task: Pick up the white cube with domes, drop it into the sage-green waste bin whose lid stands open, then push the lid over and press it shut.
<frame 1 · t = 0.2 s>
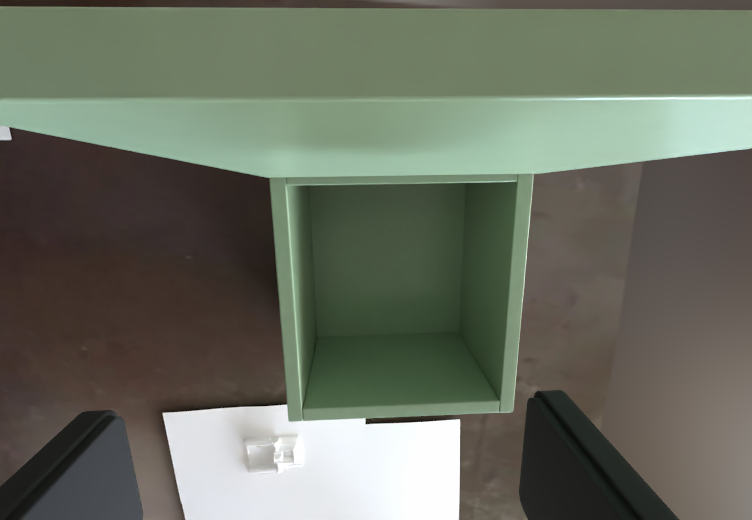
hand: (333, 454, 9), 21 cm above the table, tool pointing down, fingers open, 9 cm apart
trashcan: (387, 256, 29), on the table
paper: (320, 478, 34), on the table
bin lid: (436, 147, 11), point 17 cm above the table, hinge at 95.0°
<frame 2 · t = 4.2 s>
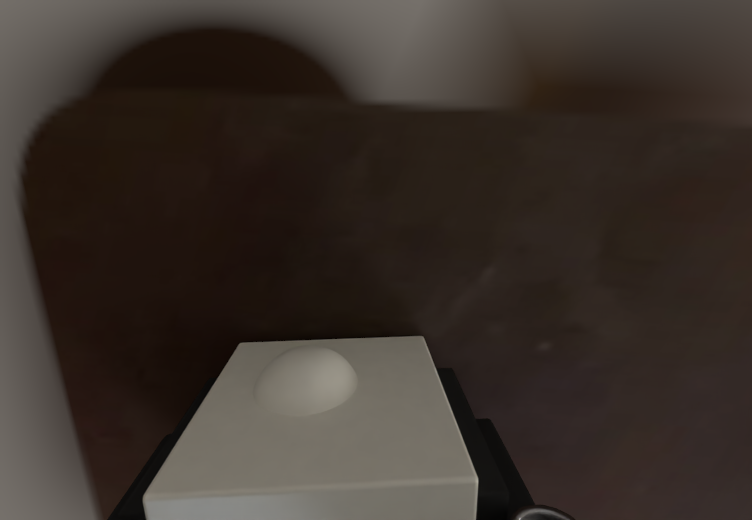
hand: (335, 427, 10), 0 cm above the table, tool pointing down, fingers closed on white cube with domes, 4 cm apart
white cube with domes: (336, 417, 10), on the table, touching gripper
when the fingers open (17 cm above the table, at t = 11.7 s): white cube with domes drops 16 cm, resting on trashcan.
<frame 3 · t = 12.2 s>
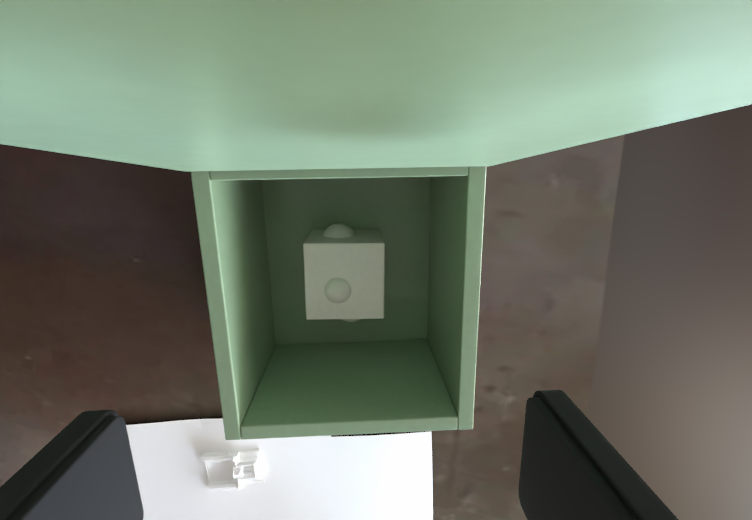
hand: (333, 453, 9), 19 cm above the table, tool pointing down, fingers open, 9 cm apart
trashcan: (349, 258, 28), on the table
white cube with domes: (346, 262, 27), point 1 cm above the table, touching trashcan
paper: (285, 494, 32), on the table
bin lid: (325, 128, 9), point 17 cm above the table, hinge at 95.0°
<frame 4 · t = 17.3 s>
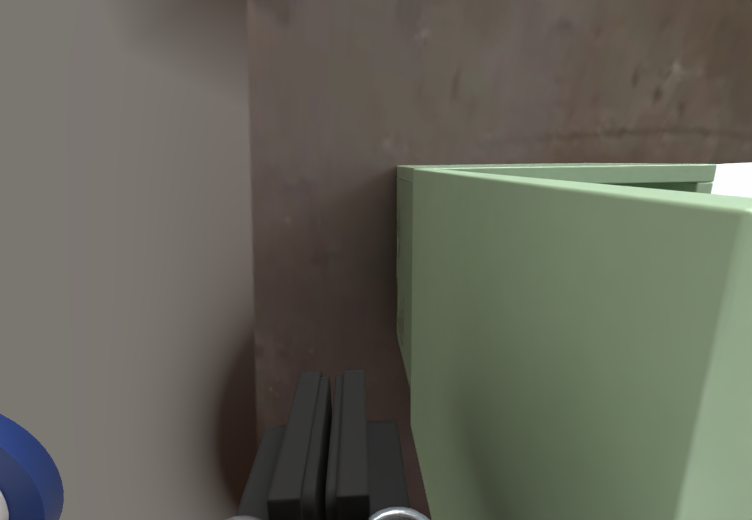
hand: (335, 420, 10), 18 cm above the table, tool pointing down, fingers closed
trashcan: (489, 253, 28), on the table
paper: (732, 320, 31), on the table
bin lid: (463, 399, 11), point 17 cm above the table, hinge at 89.6°, touching gripper
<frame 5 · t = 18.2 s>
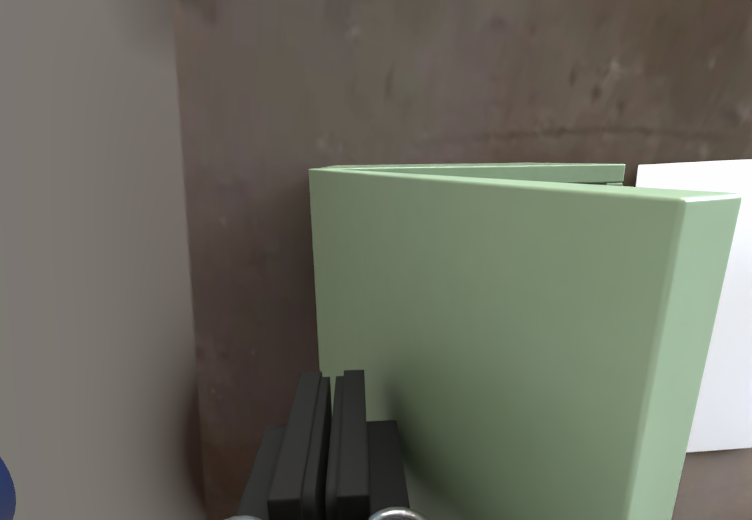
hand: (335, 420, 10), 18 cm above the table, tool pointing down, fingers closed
trashcan: (430, 254, 28), on the table
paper: (681, 321, 30), on the table
bin lid: (385, 395, 11), point 17 cm above the table, hinge at 71.7°
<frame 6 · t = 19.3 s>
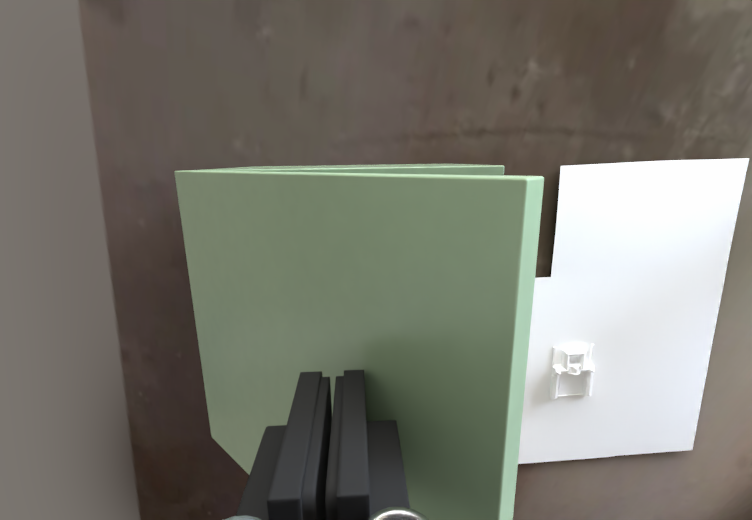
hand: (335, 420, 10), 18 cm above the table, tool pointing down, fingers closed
trashcan: (354, 255, 28), on the table
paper: (613, 323, 30), on the table
bin lid: (299, 368, 13), point 15 cm above the table, hinge at 45.6°
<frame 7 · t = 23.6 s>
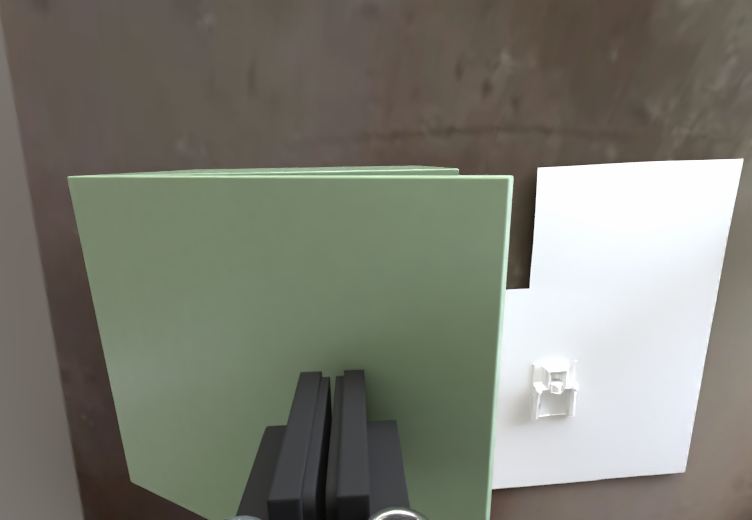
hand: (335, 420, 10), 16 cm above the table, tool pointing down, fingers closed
trashcan: (313, 266, 25), on the table
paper: (598, 338, 28), on the table
bin lid: (257, 380, 12), point 14 cm above the table, hinge at 27.6°, touching gripper
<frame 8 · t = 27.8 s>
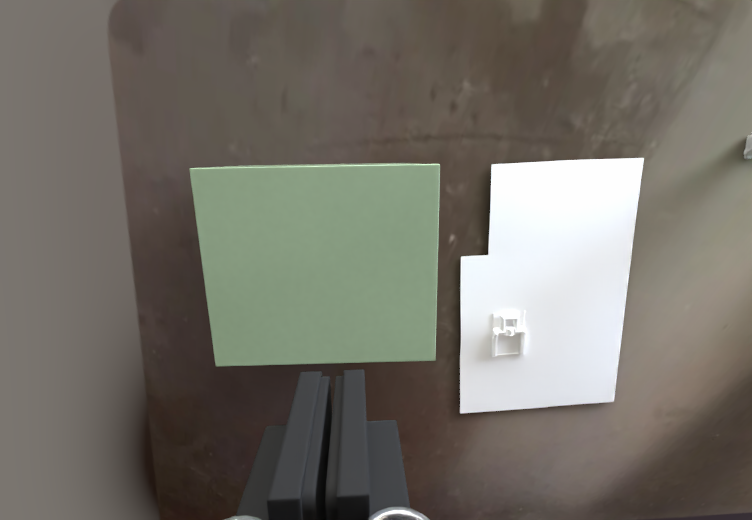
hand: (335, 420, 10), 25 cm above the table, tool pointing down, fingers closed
trashcan: (327, 237, 34), on the table
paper: (542, 294, 37), on the table
bin lid: (321, 269, 24), point 10 cm above the table, hinge at 1.6°
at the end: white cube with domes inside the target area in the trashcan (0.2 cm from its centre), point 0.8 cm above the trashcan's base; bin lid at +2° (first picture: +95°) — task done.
